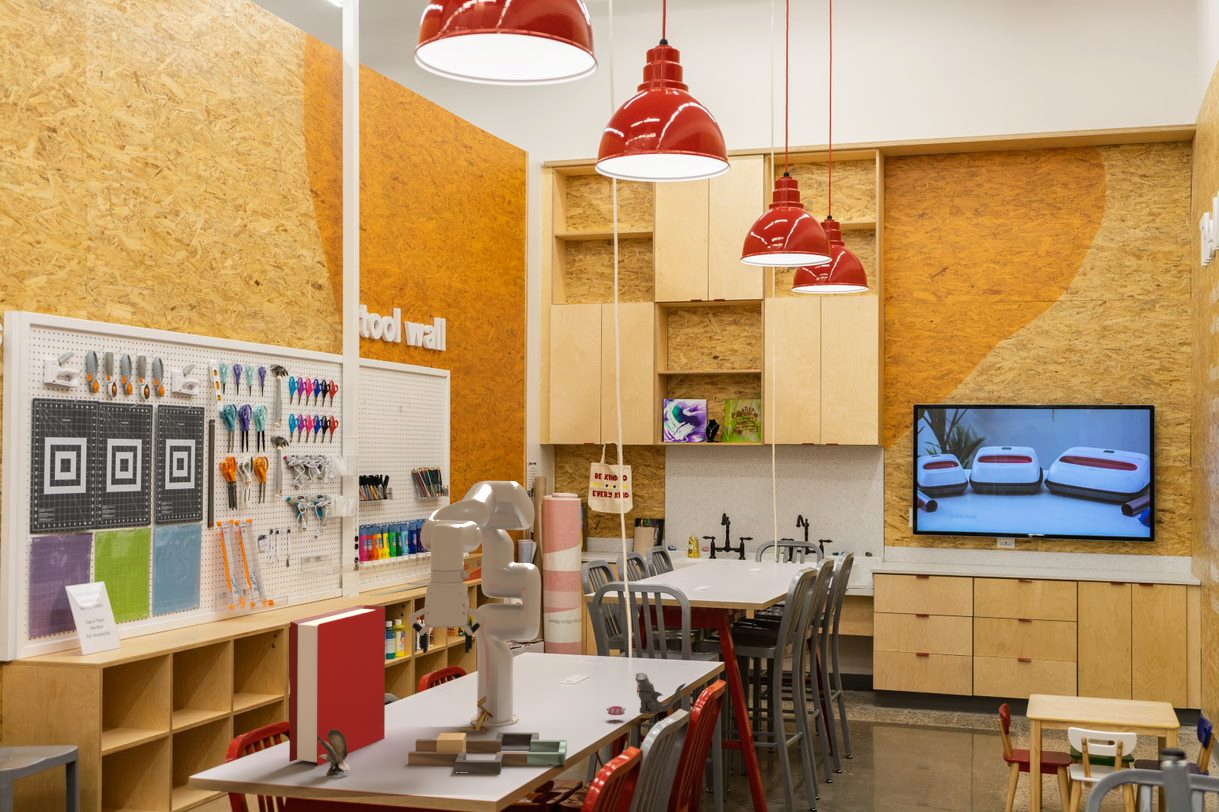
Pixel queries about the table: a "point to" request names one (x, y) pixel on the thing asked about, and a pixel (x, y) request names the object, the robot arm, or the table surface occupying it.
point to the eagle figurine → (335, 751)
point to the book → (337, 680)
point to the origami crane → (482, 717)
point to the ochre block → (451, 742)
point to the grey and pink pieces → (647, 697)
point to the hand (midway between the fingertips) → (446, 652)
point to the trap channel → (538, 755)
